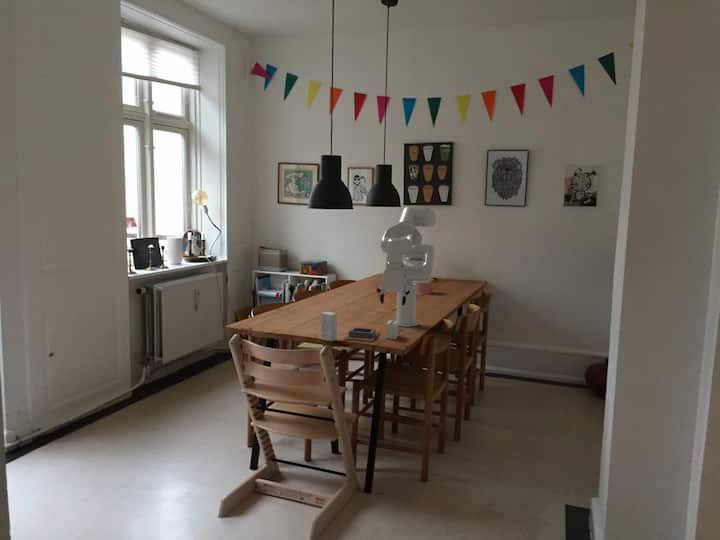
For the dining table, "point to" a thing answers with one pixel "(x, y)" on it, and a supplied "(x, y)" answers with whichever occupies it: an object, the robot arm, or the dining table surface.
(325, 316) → the skincare box
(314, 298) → the dining table surface
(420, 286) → the canned food
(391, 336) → the key block
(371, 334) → the keyed holder
